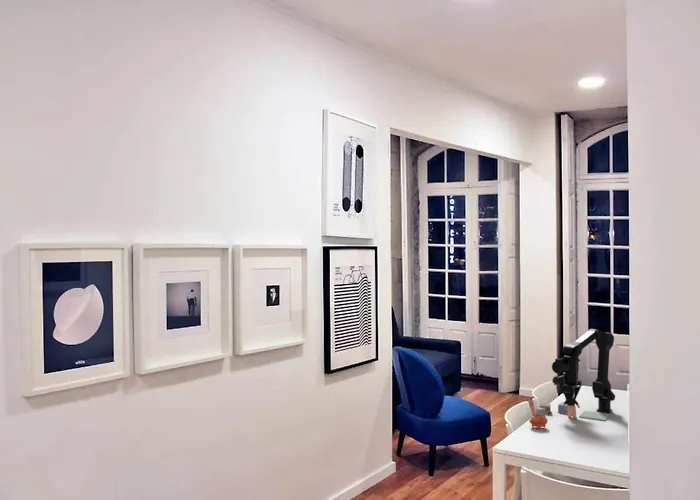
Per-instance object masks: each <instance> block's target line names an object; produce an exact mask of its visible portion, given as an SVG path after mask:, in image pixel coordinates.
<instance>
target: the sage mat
mask: <svg viewBox="0 0 700 500" xmlns="http://www.w3.org/2000/svg"><path fill="white" fill-rule="evenodd" d="M610 416H611V413H606V412H599V411H591V410H584V411H582V413H580V415H578V418H582V419H587V420H588V419H589V420H593V421H594V420H595V421H601V422H606V421H607V420H608V419H609V418H610Z"/></svg>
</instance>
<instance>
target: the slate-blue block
mask: <svg viewBox="0 0 700 500" xmlns="http://www.w3.org/2000/svg"><path fill="white" fill-rule="evenodd" d="M564 402H565V401H562V402H560V403H558V405H557V412H558V413H559V412H563V413H562V414H568V405H567V404H566V405H565V407H563V404H564Z"/></svg>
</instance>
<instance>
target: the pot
mask: <svg viewBox="0 0 700 500" xmlns="http://www.w3.org/2000/svg"><path fill="white" fill-rule="evenodd" d="M529 423H530V424H531V427H532V428H534V427H536V428H537V430H539V431H540V430H541V428H542V427H544V429H545V427H546V425H547V424H548V419H547V418H546V416H545V417H544V416H542V415H540V414H536V413H534V414H533V416H532V417H530V419H529Z"/></svg>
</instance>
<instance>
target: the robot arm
mask: <svg viewBox="0 0 700 500" xmlns="http://www.w3.org/2000/svg"><path fill="white" fill-rule="evenodd" d="M593 341H595V345H596V347H597V349H598V354H597V355H598V358H597V359H598V360H597V377H596V378H595V380H593V381H592V387H591V389H592V393H593V396H594V398H595V399H598V400H597V401H598V402H597V403H598V404H597V405H598V408H597V409H596V412H598V413H605V414H611V413H612V412H613V409H612V408H611V406H612V405H611V403H612V402H614V401H615V400H616V394H615V393H614V392H613V391H612V385H611V382H610V381H609V367H610V366H609V365H610V363H609V362H610V351H611V349H612V348H613V346H614V341H615V336H614V334H613V333H611V332H604V331H602V330H599V329H595V328H589V329H588V330H587V332H586V333H584V334H583V335H581V336H580V337H579V338H578V339H576V340H575V341H573V342H568V343H566V344H565V345H563V347H562V349H561V351H560V353H559V355H558V358H555V360H554V361H553V362H552V364H551V370H552V372H554V373H555V374H561V373H563V374H562V375H560V376H557V375H556V376H553V378H552V383H553V385H554V386H558V385H559V384H562V385H560V386H559V392H560V393H562V394H563V395H564V398H565V401H566V402H567V405H569V406H570V404H571V401H572V399H574V400H577V397H578V395H579V392H580V390H581V388H582V386H583V382H582V380H581V379H578V376H579V372H578V362H581V359H580V358H579V356H581V355H582V352H583V350H584V349H585V348H586V347H587V346H588V345H590V343H593ZM574 394H575V397H574V398H573V396H574Z"/></svg>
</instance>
